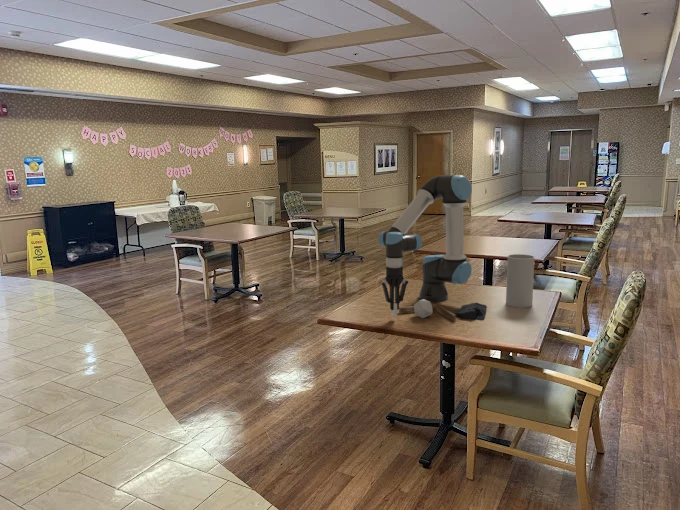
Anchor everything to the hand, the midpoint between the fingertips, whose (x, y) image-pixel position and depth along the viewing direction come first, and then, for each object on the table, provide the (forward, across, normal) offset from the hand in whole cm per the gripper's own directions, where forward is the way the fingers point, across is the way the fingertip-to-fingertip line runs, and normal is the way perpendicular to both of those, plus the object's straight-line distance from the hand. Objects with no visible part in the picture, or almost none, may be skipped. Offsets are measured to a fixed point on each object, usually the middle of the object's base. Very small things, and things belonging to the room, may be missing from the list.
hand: (394, 316), depth 239 cm
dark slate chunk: (+3, -39, +1) cm, 39 cm away
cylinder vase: (+2, -68, -5) cm, 68 cm away
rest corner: (+2, -16, 0) cm, 16 cm away
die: (-2, -10, 0) cm, 10 cm away
